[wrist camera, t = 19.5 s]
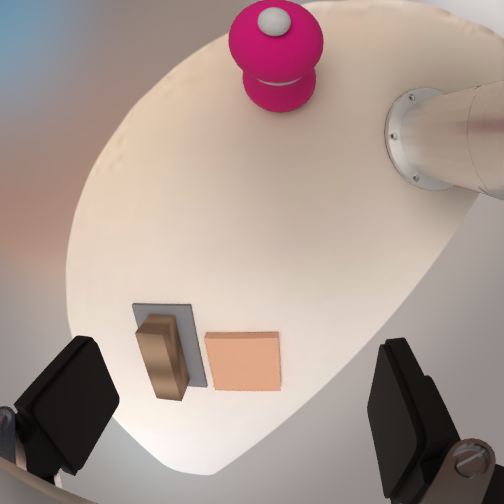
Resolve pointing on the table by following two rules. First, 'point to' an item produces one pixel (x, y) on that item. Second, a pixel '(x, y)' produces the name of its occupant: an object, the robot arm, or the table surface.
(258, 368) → the tile
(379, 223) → the table surface
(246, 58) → the pepper mill
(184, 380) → the block
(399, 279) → the table surface
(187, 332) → the mat
